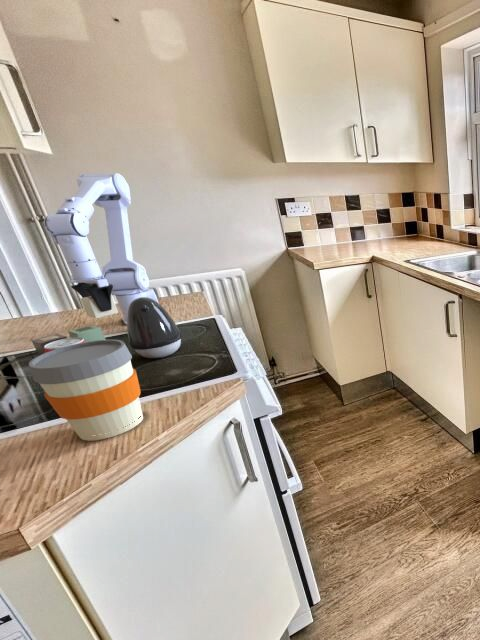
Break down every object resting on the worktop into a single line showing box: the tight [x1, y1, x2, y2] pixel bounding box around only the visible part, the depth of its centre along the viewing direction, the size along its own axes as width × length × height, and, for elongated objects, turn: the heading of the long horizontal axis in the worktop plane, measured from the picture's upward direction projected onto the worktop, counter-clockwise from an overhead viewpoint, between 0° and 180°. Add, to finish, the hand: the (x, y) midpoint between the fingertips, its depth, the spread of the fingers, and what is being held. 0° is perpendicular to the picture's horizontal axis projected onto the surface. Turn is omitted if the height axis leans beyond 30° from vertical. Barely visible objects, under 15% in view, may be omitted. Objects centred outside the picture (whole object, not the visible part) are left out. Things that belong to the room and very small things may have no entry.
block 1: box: [31, 333, 68, 356], centre depth 107 cm, size 5×5×5 cm
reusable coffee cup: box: [28, 339, 144, 442], centre depth 75 cm, size 13×13×15 cm
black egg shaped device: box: [126, 297, 182, 359], centre depth 105 cm, size 10×10×15 cm
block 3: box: [67, 324, 107, 342], centre depth 113 cm, size 5×5×5 cm
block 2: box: [79, 295, 119, 319], centre depth 116 cm, size 5×5×5 cm
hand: (101, 309), depth 117 cm, fingers closed on block 2, 5 cm apart
